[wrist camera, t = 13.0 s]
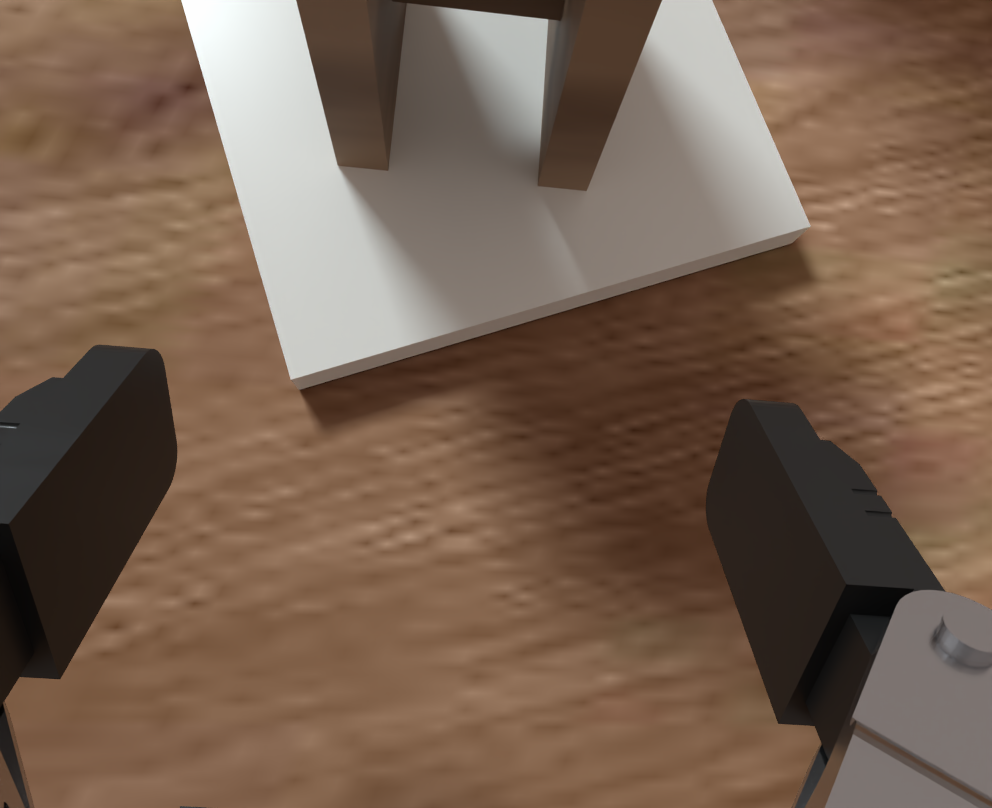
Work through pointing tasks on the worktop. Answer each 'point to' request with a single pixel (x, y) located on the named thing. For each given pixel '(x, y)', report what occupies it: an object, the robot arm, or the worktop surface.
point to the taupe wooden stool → (565, 3)
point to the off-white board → (480, 180)
